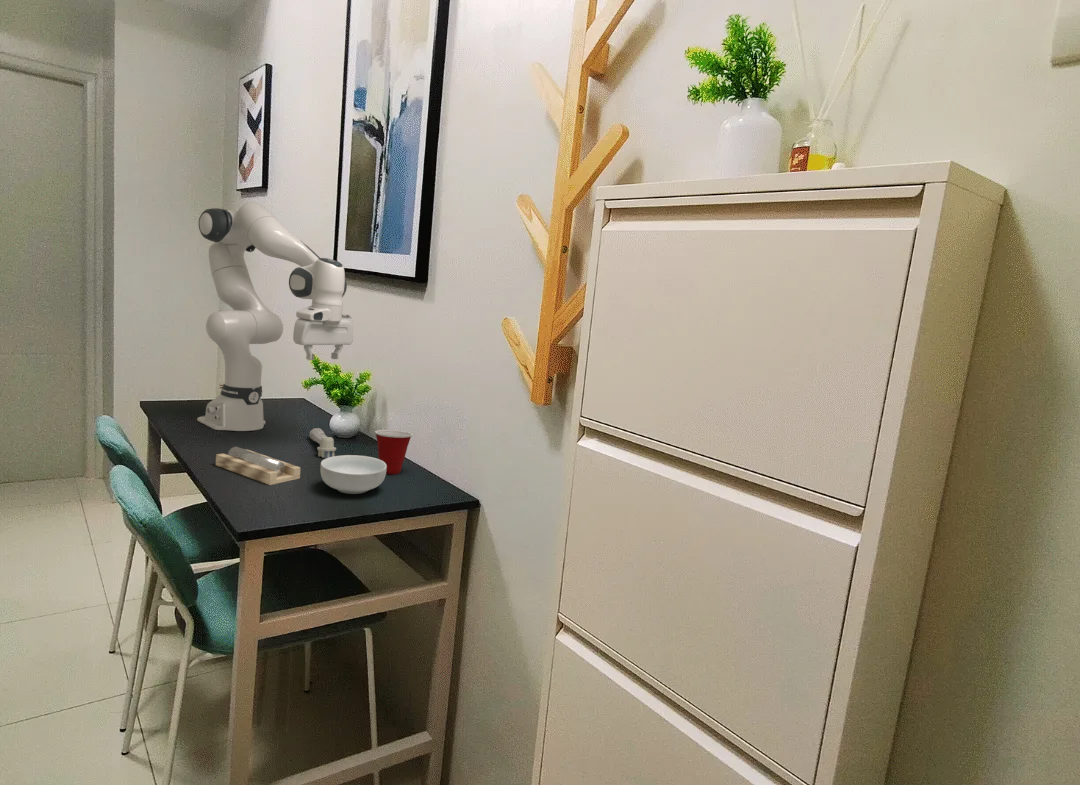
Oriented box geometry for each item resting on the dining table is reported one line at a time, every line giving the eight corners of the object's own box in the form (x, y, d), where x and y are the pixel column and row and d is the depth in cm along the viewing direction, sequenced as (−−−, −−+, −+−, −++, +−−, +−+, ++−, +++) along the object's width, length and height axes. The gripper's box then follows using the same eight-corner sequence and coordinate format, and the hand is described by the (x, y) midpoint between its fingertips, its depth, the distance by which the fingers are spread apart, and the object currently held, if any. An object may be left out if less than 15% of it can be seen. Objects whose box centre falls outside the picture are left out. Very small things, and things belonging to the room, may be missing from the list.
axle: (229, 463, 182) (226, 450, 180) (242, 456, 185) (239, 444, 183) (274, 479, 173) (270, 466, 171) (286, 472, 176) (283, 459, 174)
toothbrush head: (323, 427, 221) (338, 435, 199) (322, 447, 221) (337, 457, 199) (307, 427, 219) (320, 435, 197) (306, 447, 219) (319, 457, 197)
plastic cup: (408, 467, 200) (412, 428, 199) (409, 477, 190) (413, 437, 188) (371, 465, 198) (375, 425, 196) (370, 475, 188) (374, 434, 186)
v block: (215, 465, 180) (216, 454, 180) (246, 459, 188) (246, 449, 188) (269, 485, 170) (270, 473, 169) (299, 478, 178) (300, 467, 177)
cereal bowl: (310, 481, 176) (312, 456, 175) (370, 477, 186) (372, 453, 185) (330, 502, 163) (333, 474, 162) (394, 497, 172) (397, 470, 171)
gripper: (345, 313, 209) (341, 356, 212) (291, 311, 192) (288, 358, 194) (359, 316, 206) (355, 360, 209) (306, 314, 189) (302, 362, 191)
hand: (322, 359), depth 201 cm, fingers open, 8 cm apart
